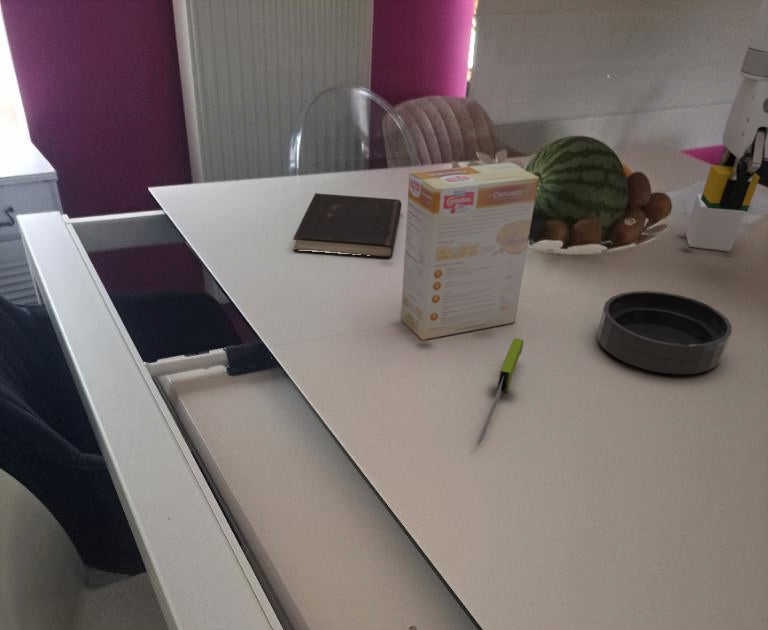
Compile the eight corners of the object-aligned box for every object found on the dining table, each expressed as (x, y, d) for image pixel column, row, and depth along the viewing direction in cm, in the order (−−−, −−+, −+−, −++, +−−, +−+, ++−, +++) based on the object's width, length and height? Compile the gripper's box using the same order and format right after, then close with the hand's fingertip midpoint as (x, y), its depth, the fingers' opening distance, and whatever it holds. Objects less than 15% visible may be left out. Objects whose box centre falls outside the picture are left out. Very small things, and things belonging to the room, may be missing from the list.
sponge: (739, 202, 116) (751, 168, 112) (747, 211, 112) (760, 176, 109) (700, 198, 116) (711, 164, 113) (707, 208, 112) (719, 173, 109)
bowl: (703, 326, 105) (714, 296, 102) (734, 383, 93) (747, 351, 90) (589, 316, 106) (596, 286, 103) (604, 372, 94) (613, 340, 91)
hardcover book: (293, 251, 119) (293, 237, 118) (315, 206, 137) (315, 193, 136) (392, 259, 119) (392, 245, 117) (401, 212, 137) (401, 199, 135)
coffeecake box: (489, 303, 108) (510, 160, 95) (516, 324, 103) (542, 176, 90) (398, 319, 103) (407, 170, 90) (421, 341, 98) (435, 187, 85)
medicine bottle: (725, 238, 134) (749, 168, 126) (730, 252, 128) (756, 179, 121) (684, 233, 135) (706, 163, 127) (688, 247, 129) (710, 175, 122)
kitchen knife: (480, 464, 79) (483, 443, 77) (469, 462, 80) (471, 440, 77) (521, 357, 94) (524, 336, 92) (511, 355, 95) (514, 334, 92)
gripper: (821, 79, 95) (766, 223, 107) (779, 57, 108) (734, 187, 120) (762, 75, 96) (714, 218, 107) (727, 53, 109) (687, 183, 120)
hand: (725, 200), depth 114 cm, fingers closed on sponge, 4 cm apart
